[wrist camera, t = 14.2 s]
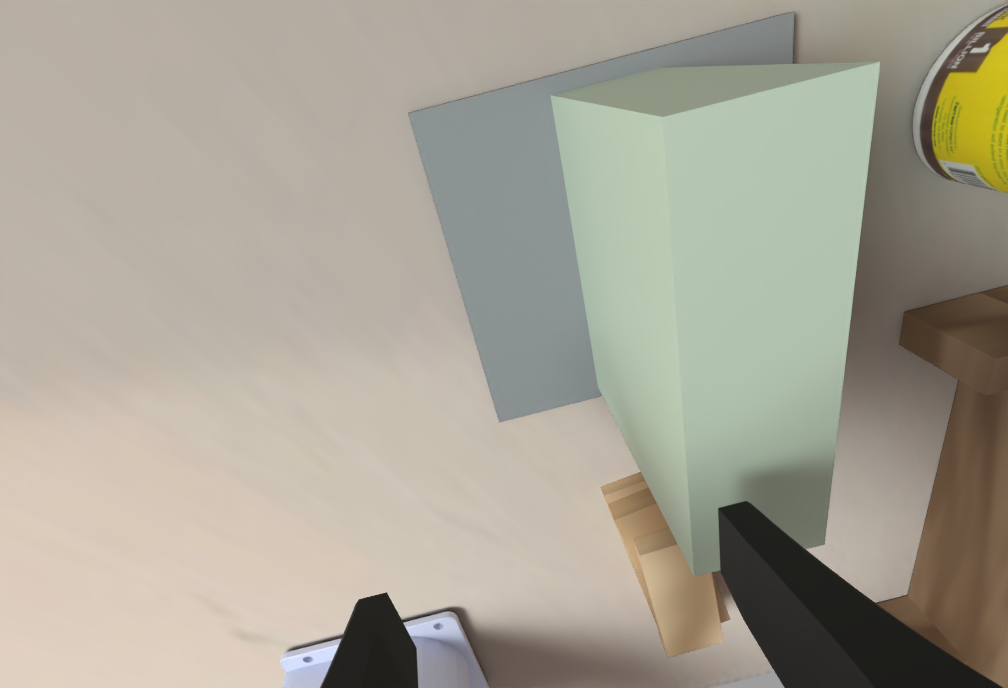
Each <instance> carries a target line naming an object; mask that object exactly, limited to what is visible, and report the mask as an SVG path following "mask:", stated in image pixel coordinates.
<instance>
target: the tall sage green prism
mask: <svg viewBox="0 0 1008 688" xmlns="http://www.w3.org/2000/svg"><path fill="white" fill-rule="evenodd" d="M879 69H880V62H844V63H808V64H772V65H735V66H699V67H663V68H655V69H651V70H647V71H643V72H639V73H635V74H632V75H628V76H624V77H620V78H616V79H612V80H608V81H604V82H600V83H596V84H593V85H589V86H585V87H581V88H577V89H573V90H569V91H565V92H561V93H557V94H554V95H551V101H552V108H553V114H554V120H555V126H556V132H557V138H558V144H559V151H560V157H561V163H562V169H563V175H564V181H565V187H566V194H567V200H568V206H569V212H570V218H571V224H572V230H573V237H574V243H575V249H576V255H577V261H578V267H579V273H580V280H581V286H582V292H583V298H584V304H585V310H586V316H587V323H588V329H589V335H590V341H591V347H592V353H593V359H594V366H595V372H596V378H597V384H598V388H599V390H600V392H601V394H602V396H603V398H604V400H605V402H606V404H607V406H608V408H609V410H610V412H611V414H612V416H613V418H614V420H615V422H616V424H617V426H618V427H619V429H620V431H621V433H622V435H623V437H624V439H625V441H626V443H627V445H628V447H629V449H630V451H631V453H632V455H633V457H634V459H635V461H636V463H637V465H638V467H639V469H640V471H641V473H642V475H643V477H644V479H645V481H646V483H647V485H648V487H649V489H650V491H651V493H652V495H653V497H654V499H655V501H656V503H657V504H658V506H659V508H660V510H661V512H662V514H663V516H664V518H665V520H666V522H667V524H668V526H669V528H670V530H671V532H672V534H673V536H674V538H675V540H676V542H677V544H678V546H679V548H680V550H681V552H682V554H683V556H684V558H685V560H686V562H687V564H688V566H689V568H690V570H691V572H692V574H693V576H694V577H696V576H700V575H704V574H708V573H712V572H716V571H720V546H719V521H718V508H720V507H724V506H728V505H732V504H736V503H740V502H744V501H748V502H749V503H751V504H752V505H753V506H755V507H756V508H757V509H758V510H759V511H760V512H762V513H763V514H764V515H765V516H766V517H767V518H768V519H770V520H771V521H772V522H773V523H774V524H775V525H777V526H778V527H779V528H780V529H781V530H783V531H784V532H785V533H786V534H787V535H789V536H790V537H791V538H792V539H793V540H795V541H796V542H797V543H798V544H799V545H801V546H802V547H803V548H804V549H808V548H812V547H816V546H820V545H824V544H825V536H826V527H827V519H828V510H829V501H830V493H831V484H832V475H833V467H834V458H835V449H836V441H837V432H838V424H839V415H840V406H841V398H842V389H843V380H844V372H845V363H846V354H847V346H848V337H849V329H850V320H851V311H852V303H853V294H854V285H855V277H856V268H857V259H858V251H859V242H860V234H861V225H862V216H863V208H864V199H865V190H866V182H867V173H868V164H869V156H870V147H871V139H872V130H873V121H874V113H875V104H876V95H877V87H878V78H879Z"/></svg>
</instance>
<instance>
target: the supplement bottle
mask: <svg viewBox="0 0 1008 688" xmlns="http://www.w3.org/2000/svg"><path fill="white" fill-rule="evenodd" d="M912 131H913V140H914V144H915V148H916V150H917V153H918V155H919V157H920V159H921V160H922V162H923V163H924V164H925V165H926V166H927V167H928V168H929V169H930V170H931V171H932V172H934V173H935V174H937V175H939V176H941V177H943V178H945V179H948V180H952V181H956V182H960V183H964V184H969V185H973V186H978V187H983V188H987V189H991V190H996V191H1001V192H1006V193H1008V4H1005V5H1003V6H1001V7H998V8H996V9H994V10H992V11H991V12H989V13H987V14H985V15H984V16H982V17H981V18H979V19H978V20H976V21H975V22H973V23H972V24H971V25H969V26H968V27H967V28H966V29H965V30H963V31H962V32H961V33H960V34H959V35H958V36H957V37H956V38H955V39H954V40H953V41H952V42H951V43H950V44H949V45H948V46H947V48H946V49H945V50H944V51H943V52H942V54H941V55H940V56H939V58H938V59H937V60H936V62H935V63H934V65H933V66H932V68H931V69H930V71H929V73H928V75H927V77H926V78H925V80H924V82H923V85H922V87H921V90H920V92H919V94H918V98H917V101H916V105H915V108H914V114H913V128H912Z"/></svg>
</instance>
